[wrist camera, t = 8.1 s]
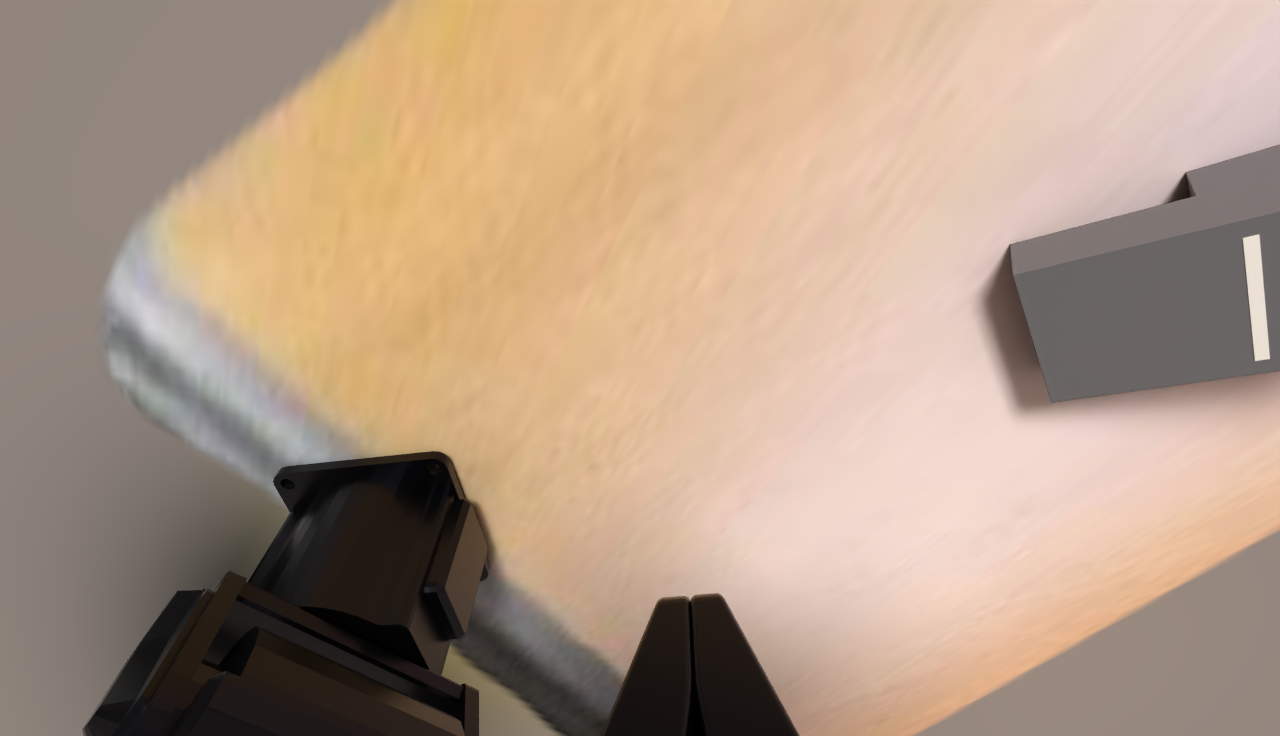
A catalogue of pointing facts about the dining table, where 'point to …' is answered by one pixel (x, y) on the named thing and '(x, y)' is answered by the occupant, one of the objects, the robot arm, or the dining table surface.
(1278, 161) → the domino
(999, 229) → the dining table surface
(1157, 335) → the domino
